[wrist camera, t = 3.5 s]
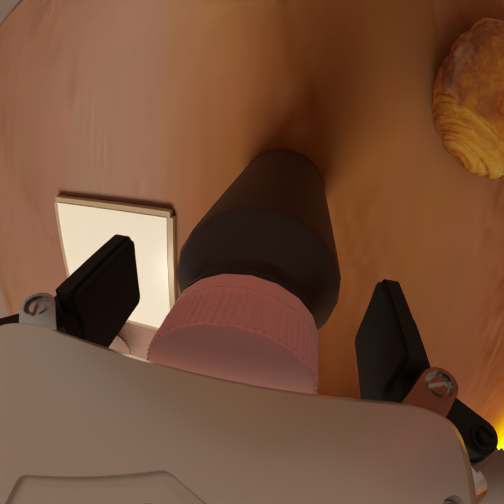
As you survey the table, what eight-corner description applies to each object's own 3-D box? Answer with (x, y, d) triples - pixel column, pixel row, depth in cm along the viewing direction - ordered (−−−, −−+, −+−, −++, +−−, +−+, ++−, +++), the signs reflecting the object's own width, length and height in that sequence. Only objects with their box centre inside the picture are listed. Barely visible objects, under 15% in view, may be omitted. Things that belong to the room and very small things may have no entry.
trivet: (175, 209, 28) (172, 212, 27) (178, 331, 35) (176, 336, 34) (57, 194, 29) (53, 197, 29) (77, 302, 36) (74, 306, 36)
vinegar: (281, 131, 23) (206, 224, 6) (339, 190, 25) (399, 394, 7) (226, 187, 26) (88, 359, 9) (282, 240, 28) (239, 457, 10)
